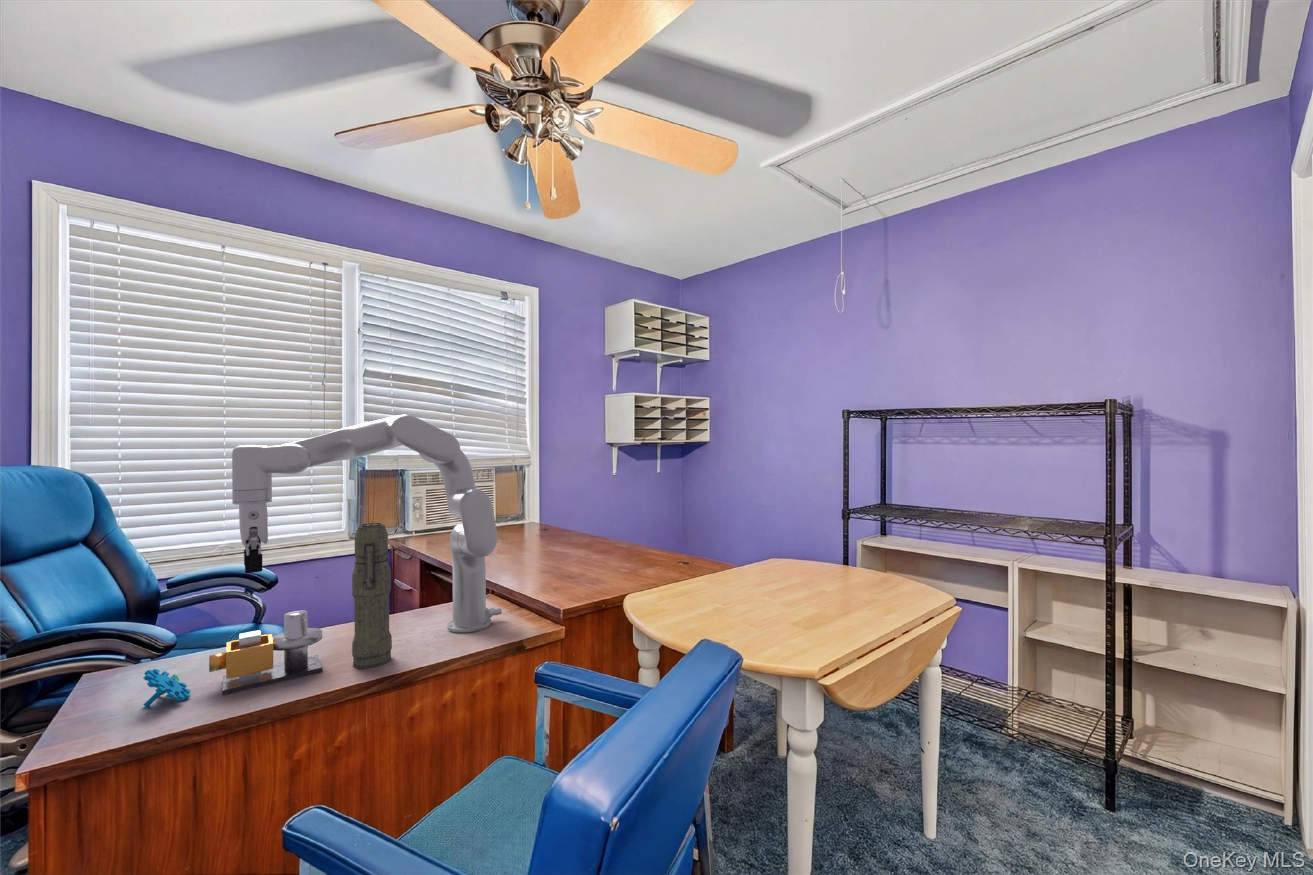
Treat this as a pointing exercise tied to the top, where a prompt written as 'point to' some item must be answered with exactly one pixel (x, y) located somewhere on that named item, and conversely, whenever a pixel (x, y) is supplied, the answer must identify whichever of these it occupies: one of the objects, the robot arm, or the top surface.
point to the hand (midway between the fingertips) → (253, 568)
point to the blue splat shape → (165, 686)
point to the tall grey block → (249, 641)
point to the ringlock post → (270, 656)
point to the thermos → (371, 597)
